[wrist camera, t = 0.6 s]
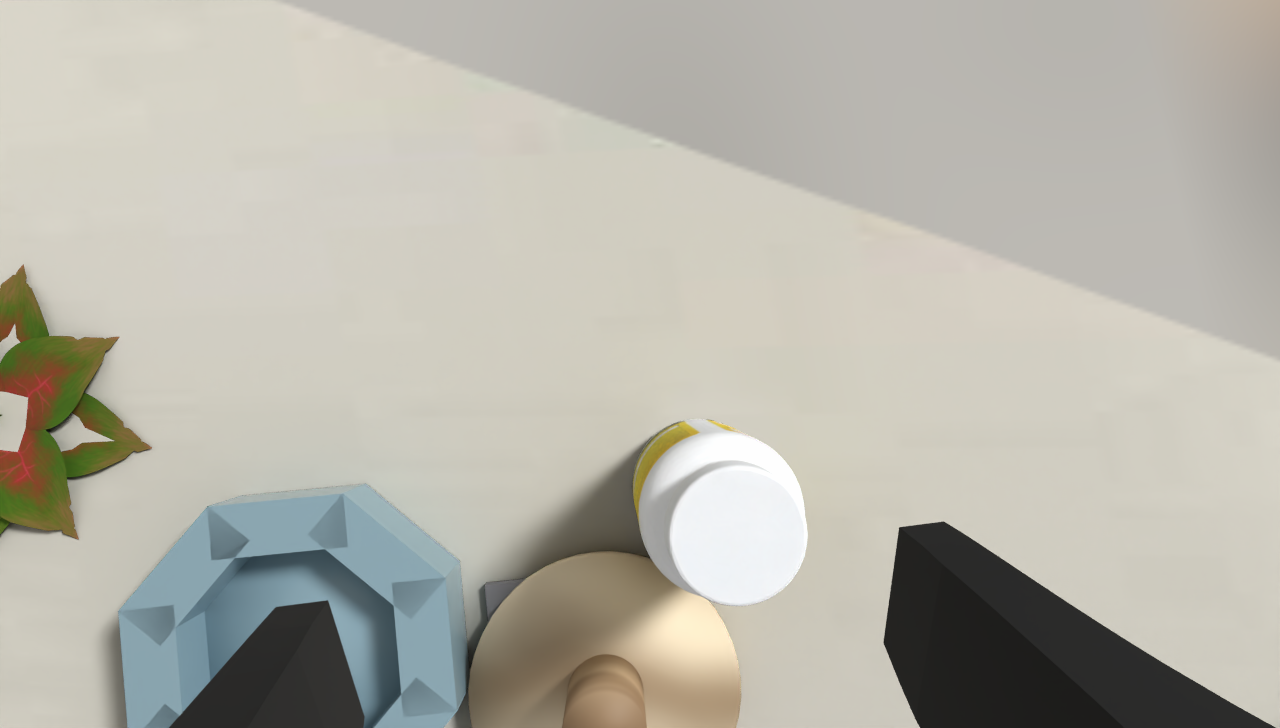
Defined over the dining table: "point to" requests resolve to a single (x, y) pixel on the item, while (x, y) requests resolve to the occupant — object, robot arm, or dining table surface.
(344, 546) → the bowl
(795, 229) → the dining table surface
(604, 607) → the lid
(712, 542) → the supplement bottle
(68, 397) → the lily flower
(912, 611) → the robot arm
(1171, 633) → the dining table surface
